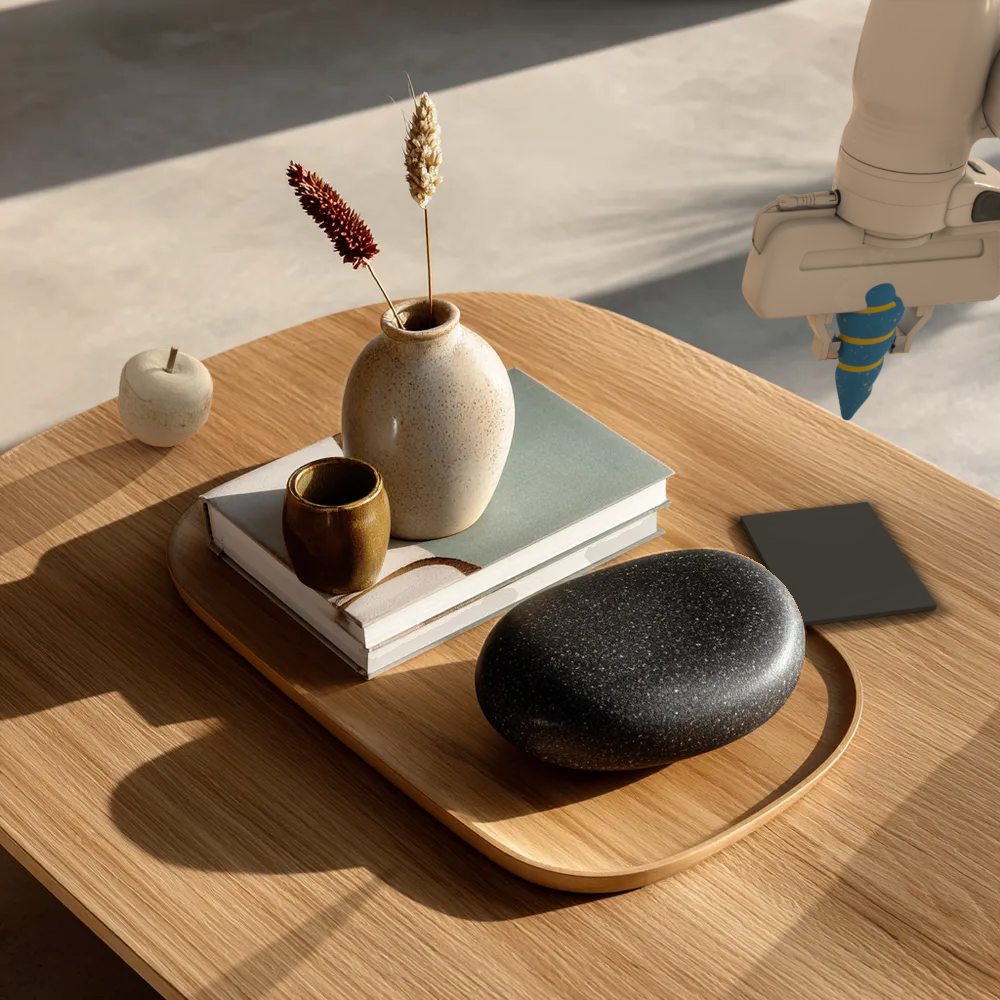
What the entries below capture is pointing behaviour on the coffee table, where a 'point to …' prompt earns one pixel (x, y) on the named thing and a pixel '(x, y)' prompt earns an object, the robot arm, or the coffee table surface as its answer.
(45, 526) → the coffee table surface
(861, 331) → the ornament
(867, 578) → the mat
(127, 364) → the decorative object
